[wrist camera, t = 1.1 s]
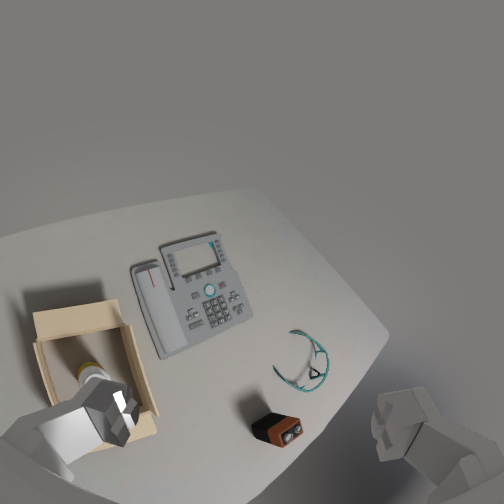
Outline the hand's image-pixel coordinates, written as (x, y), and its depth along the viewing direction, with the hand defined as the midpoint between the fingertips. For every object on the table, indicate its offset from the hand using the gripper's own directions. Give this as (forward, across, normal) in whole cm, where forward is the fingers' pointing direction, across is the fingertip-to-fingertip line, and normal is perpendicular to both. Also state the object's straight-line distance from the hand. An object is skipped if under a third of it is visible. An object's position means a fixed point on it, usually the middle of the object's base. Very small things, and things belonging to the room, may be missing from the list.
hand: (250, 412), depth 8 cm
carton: (+23, +30, +22) cm, 44 cm away
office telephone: (+44, +17, +14) cm, 49 cm away
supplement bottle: (+23, +30, +22) cm, 44 cm away
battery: (+38, +3, +46) cm, 59 cm away
